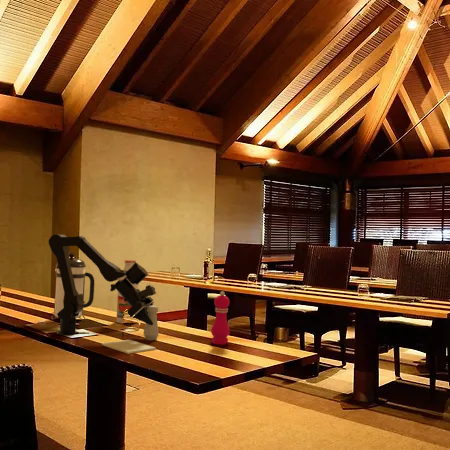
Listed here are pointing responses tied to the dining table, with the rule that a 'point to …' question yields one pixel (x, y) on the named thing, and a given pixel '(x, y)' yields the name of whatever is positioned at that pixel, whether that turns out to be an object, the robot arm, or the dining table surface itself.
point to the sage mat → (128, 346)
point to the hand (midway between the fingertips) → (155, 322)
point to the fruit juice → (120, 302)
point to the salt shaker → (151, 330)
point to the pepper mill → (220, 320)
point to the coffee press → (79, 281)
